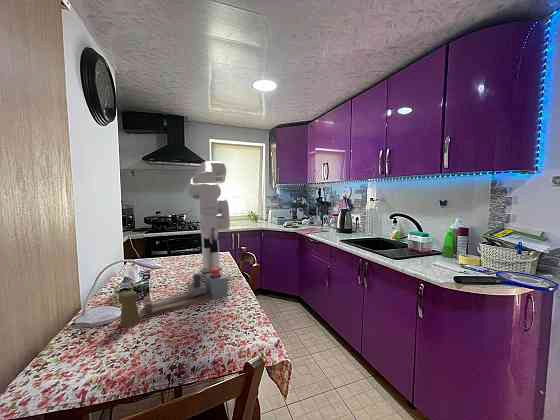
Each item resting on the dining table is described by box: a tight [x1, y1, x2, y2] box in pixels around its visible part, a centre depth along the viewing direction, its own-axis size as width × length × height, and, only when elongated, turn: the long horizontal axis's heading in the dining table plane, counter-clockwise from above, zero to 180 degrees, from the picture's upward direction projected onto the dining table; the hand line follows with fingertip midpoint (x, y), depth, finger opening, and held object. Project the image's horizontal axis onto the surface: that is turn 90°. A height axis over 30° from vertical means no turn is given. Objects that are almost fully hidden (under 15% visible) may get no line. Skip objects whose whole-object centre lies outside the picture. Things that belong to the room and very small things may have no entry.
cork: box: [119, 290, 141, 328], centre depth 82 cm, size 6×6×11 cm
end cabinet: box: [204, 271, 229, 300], centre depth 105 cm, size 10×7×8 cm
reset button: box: [209, 267, 222, 278], centre depth 105 cm, size 5×5×4 cm
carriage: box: [187, 273, 207, 297], centre depth 100 cm, size 7×6×8 cm
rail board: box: [143, 291, 212, 318], centre depth 96 cm, size 10×24×4 cm, turn 124°
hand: (210, 250), depth 103 cm, fingers open, 9 cm apart
